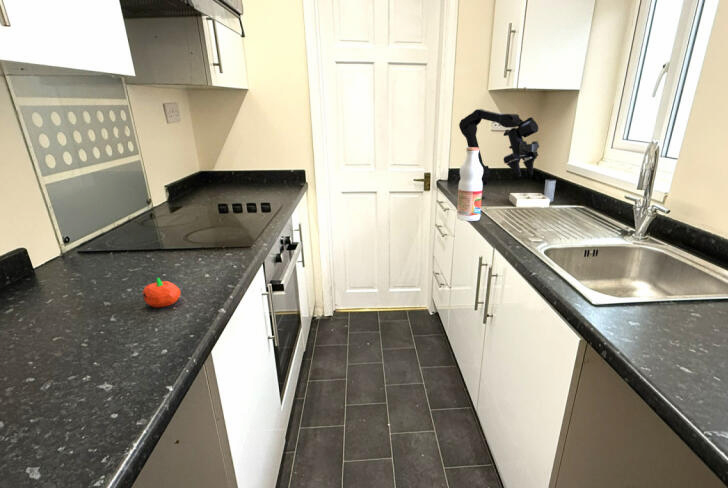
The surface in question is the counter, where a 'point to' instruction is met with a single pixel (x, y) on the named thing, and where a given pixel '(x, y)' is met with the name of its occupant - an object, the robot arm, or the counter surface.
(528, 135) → the robot arm
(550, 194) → the grey cylinder
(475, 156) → the fruit juice
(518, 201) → the grid
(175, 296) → the pumpkin
